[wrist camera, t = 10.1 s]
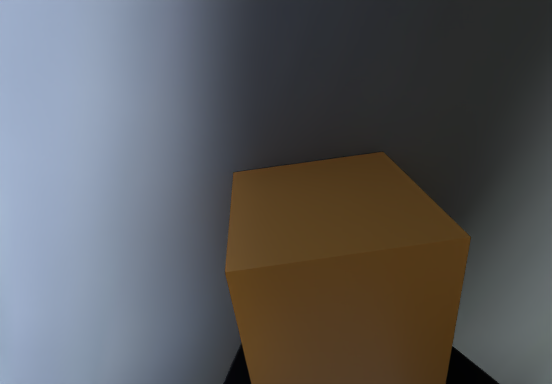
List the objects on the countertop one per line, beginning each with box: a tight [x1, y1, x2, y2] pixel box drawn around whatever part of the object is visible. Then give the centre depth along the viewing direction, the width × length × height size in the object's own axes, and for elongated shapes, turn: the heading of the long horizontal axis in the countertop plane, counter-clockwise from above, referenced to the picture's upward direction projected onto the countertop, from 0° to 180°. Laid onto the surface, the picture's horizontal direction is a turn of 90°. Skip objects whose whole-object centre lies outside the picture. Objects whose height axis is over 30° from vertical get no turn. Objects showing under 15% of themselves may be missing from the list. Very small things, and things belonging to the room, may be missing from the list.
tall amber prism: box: [225, 152, 471, 384], centre depth 8 cm, size 9×4×4 cm, turn 7°
